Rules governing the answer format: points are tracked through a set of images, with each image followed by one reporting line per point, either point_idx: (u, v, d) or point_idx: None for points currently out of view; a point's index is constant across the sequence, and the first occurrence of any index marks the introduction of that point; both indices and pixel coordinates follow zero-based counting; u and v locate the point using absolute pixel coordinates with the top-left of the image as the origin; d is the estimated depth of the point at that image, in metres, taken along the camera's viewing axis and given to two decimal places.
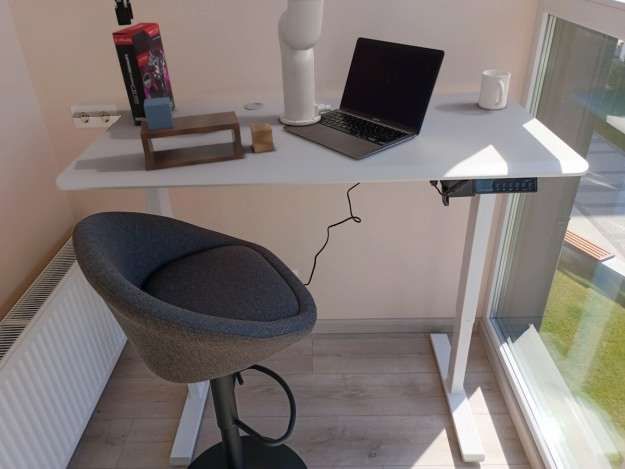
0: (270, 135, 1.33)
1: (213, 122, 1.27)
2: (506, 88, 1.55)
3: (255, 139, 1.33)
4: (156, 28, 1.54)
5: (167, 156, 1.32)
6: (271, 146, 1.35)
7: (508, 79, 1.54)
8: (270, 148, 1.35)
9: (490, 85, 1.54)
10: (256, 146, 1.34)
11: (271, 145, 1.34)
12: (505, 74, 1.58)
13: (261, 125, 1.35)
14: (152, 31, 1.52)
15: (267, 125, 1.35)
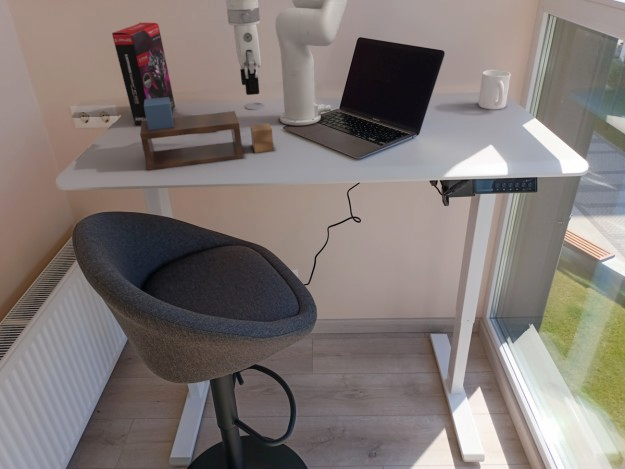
0: (270, 135, 1.33)
1: (213, 122, 1.27)
2: (506, 88, 1.55)
3: (255, 139, 1.33)
4: (156, 28, 1.54)
5: (167, 156, 1.32)
6: (271, 146, 1.35)
7: (508, 79, 1.54)
8: (270, 148, 1.35)
9: (490, 85, 1.54)
10: (256, 146, 1.34)
11: (271, 145, 1.34)
12: (505, 74, 1.58)
13: (261, 125, 1.35)
14: (151, 31, 1.52)
15: (267, 125, 1.35)
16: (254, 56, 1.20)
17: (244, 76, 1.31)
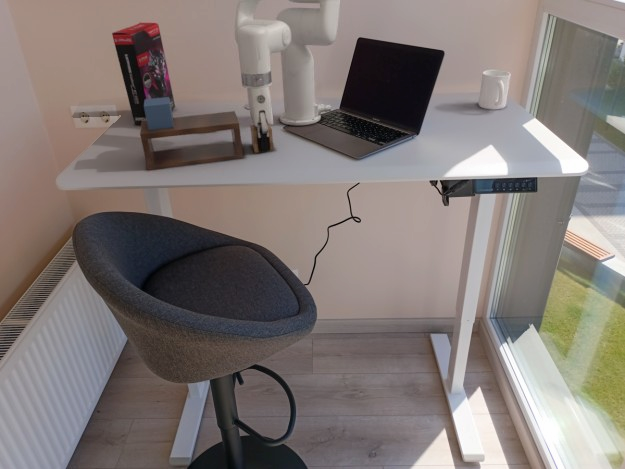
0: (270, 135, 1.33)
1: (213, 122, 1.27)
2: (506, 88, 1.55)
3: (255, 139, 1.33)
4: (156, 28, 1.54)
5: (167, 156, 1.32)
6: (271, 146, 1.35)
7: (508, 79, 1.54)
8: (270, 148, 1.35)
9: (490, 85, 1.54)
10: (256, 146, 1.34)
11: (271, 145, 1.34)
12: (505, 74, 1.58)
13: None
14: (151, 31, 1.52)
15: None
16: (267, 116, 1.28)
17: None
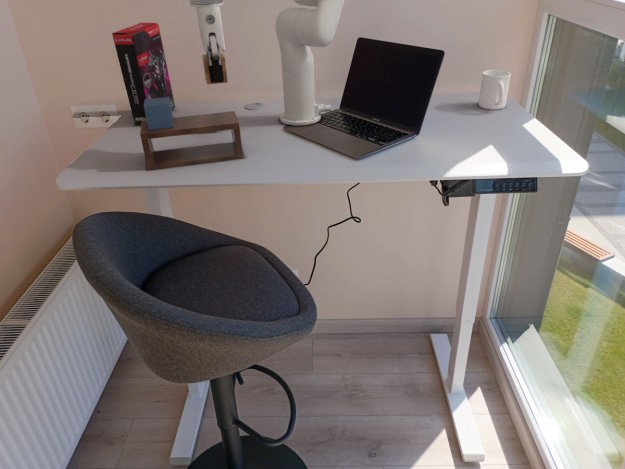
0: (223, 64, 1.21)
1: (213, 122, 1.27)
2: (506, 88, 1.55)
3: (206, 68, 1.21)
4: (156, 28, 1.54)
5: (167, 156, 1.32)
6: (225, 77, 1.23)
7: (508, 79, 1.54)
8: (224, 79, 1.23)
9: (490, 85, 1.54)
10: (208, 77, 1.22)
11: (225, 76, 1.23)
12: (505, 74, 1.58)
13: None
14: (151, 31, 1.52)
15: (220, 54, 1.23)
16: (218, 39, 1.16)
17: None
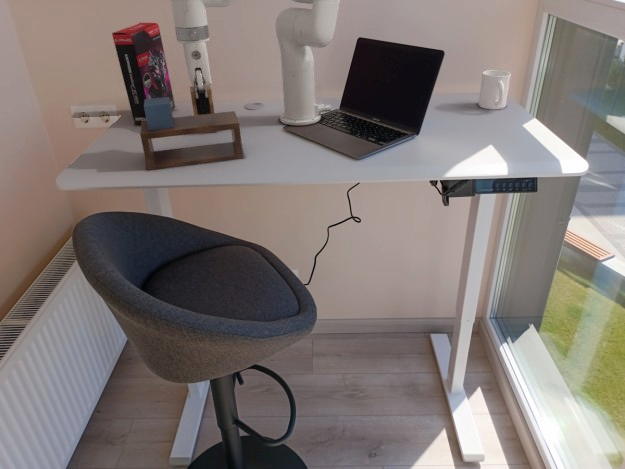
0: (210, 96, 1.24)
1: (213, 122, 1.27)
2: (506, 88, 1.55)
3: (193, 100, 1.24)
4: (156, 28, 1.54)
5: (167, 156, 1.32)
6: (211, 109, 1.26)
7: (508, 79, 1.54)
8: None
9: (490, 85, 1.54)
10: (195, 109, 1.25)
11: (211, 108, 1.26)
12: (505, 74, 1.58)
13: None
14: (151, 31, 1.52)
15: (207, 86, 1.26)
16: (204, 74, 1.19)
17: None
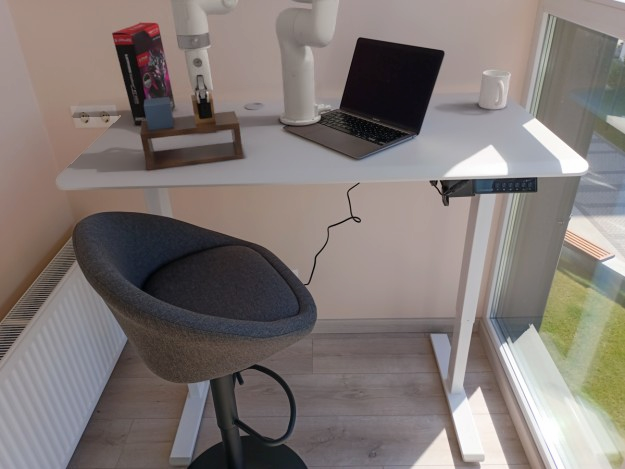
0: (211, 105, 1.25)
1: (213, 122, 1.27)
2: (506, 88, 1.55)
3: (195, 109, 1.25)
4: (156, 28, 1.54)
5: (167, 156, 1.32)
6: (213, 117, 1.27)
7: (508, 79, 1.54)
8: (212, 119, 1.27)
9: (490, 85, 1.54)
10: (196, 117, 1.26)
11: (213, 116, 1.27)
12: (505, 74, 1.58)
13: None
14: (151, 31, 1.52)
15: (209, 95, 1.27)
16: (205, 81, 1.20)
17: None
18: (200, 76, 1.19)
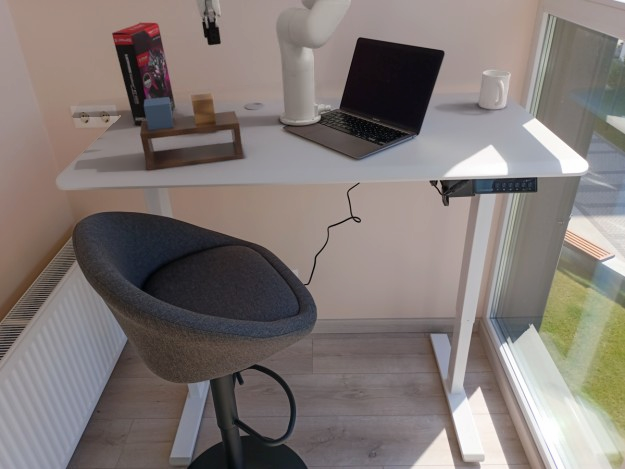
0: (211, 105, 1.25)
1: (213, 122, 1.27)
2: (506, 88, 1.55)
3: (195, 109, 1.25)
4: (156, 28, 1.54)
5: (167, 156, 1.32)
6: (213, 117, 1.27)
7: (508, 79, 1.54)
8: (212, 119, 1.27)
9: (490, 85, 1.54)
10: (196, 117, 1.26)
11: (213, 116, 1.27)
12: (505, 74, 1.58)
13: (202, 95, 1.27)
14: (151, 31, 1.52)
15: (209, 95, 1.27)
16: (214, 5, 1.21)
17: None
18: (208, 0, 1.21)
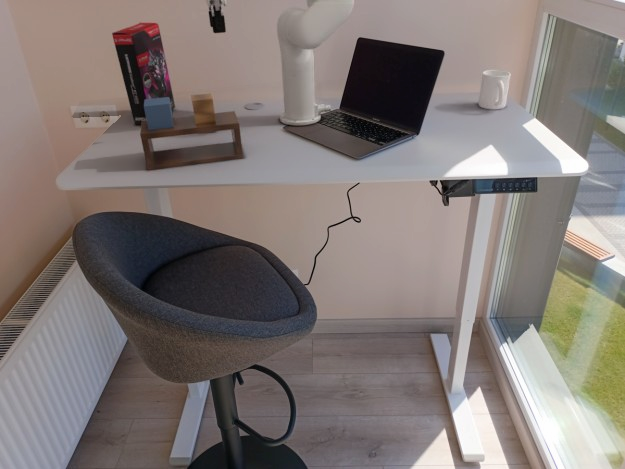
0: (211, 105, 1.25)
1: (213, 122, 1.27)
2: (506, 88, 1.55)
3: (195, 109, 1.25)
4: (156, 28, 1.54)
5: (167, 156, 1.32)
6: (213, 117, 1.27)
7: (508, 79, 1.54)
8: (212, 119, 1.27)
9: (490, 85, 1.54)
10: (196, 117, 1.26)
11: (213, 116, 1.27)
12: (505, 74, 1.58)
13: (202, 95, 1.27)
14: (151, 31, 1.52)
15: (209, 95, 1.27)
16: None
17: None
18: None
